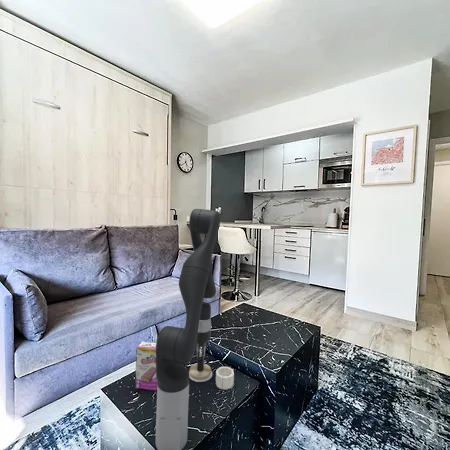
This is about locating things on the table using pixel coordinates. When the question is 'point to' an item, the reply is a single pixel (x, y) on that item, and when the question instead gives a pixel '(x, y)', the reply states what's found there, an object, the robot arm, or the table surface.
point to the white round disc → (200, 378)
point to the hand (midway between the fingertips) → (200, 368)
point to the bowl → (224, 378)
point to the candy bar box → (146, 366)
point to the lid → (200, 374)
